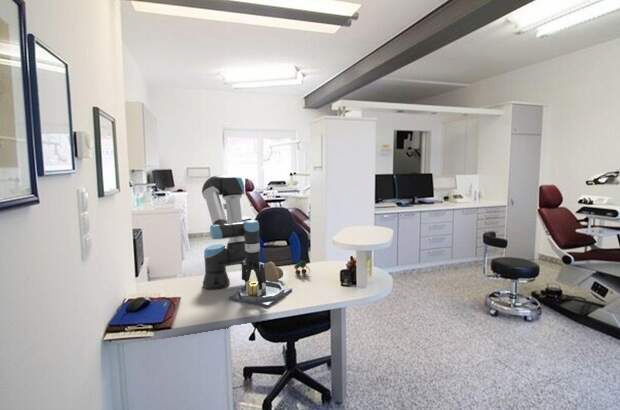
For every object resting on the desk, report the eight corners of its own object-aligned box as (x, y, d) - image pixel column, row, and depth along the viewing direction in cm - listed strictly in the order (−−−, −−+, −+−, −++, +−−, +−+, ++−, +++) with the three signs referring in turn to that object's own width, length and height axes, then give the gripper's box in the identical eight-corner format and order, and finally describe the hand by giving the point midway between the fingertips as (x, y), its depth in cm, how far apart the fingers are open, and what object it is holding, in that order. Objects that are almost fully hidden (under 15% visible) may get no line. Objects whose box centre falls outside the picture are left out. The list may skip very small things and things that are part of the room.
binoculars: (308, 277, 213) (305, 262, 217) (313, 273, 205) (309, 257, 209) (294, 279, 209) (291, 264, 213) (299, 275, 202) (295, 259, 206)
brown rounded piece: (272, 288, 206) (287, 278, 198) (262, 290, 200) (277, 279, 192) (265, 268, 212) (279, 257, 204) (255, 269, 206) (269, 258, 198)
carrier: (229, 299, 174) (228, 287, 173) (256, 284, 196) (255, 273, 195) (267, 307, 164) (267, 295, 163) (291, 290, 185) (291, 279, 184)
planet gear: (252, 291, 177) (252, 281, 177) (262, 293, 175) (261, 282, 174) (245, 295, 172) (245, 284, 171) (255, 297, 169) (255, 286, 169)
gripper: (232, 250, 172) (234, 294, 174) (263, 254, 163) (265, 300, 166) (241, 247, 178) (243, 289, 181) (272, 250, 170) (273, 294, 173)
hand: (254, 294), depth 174 cm, fingers closed on planet gear, 6 cm apart
